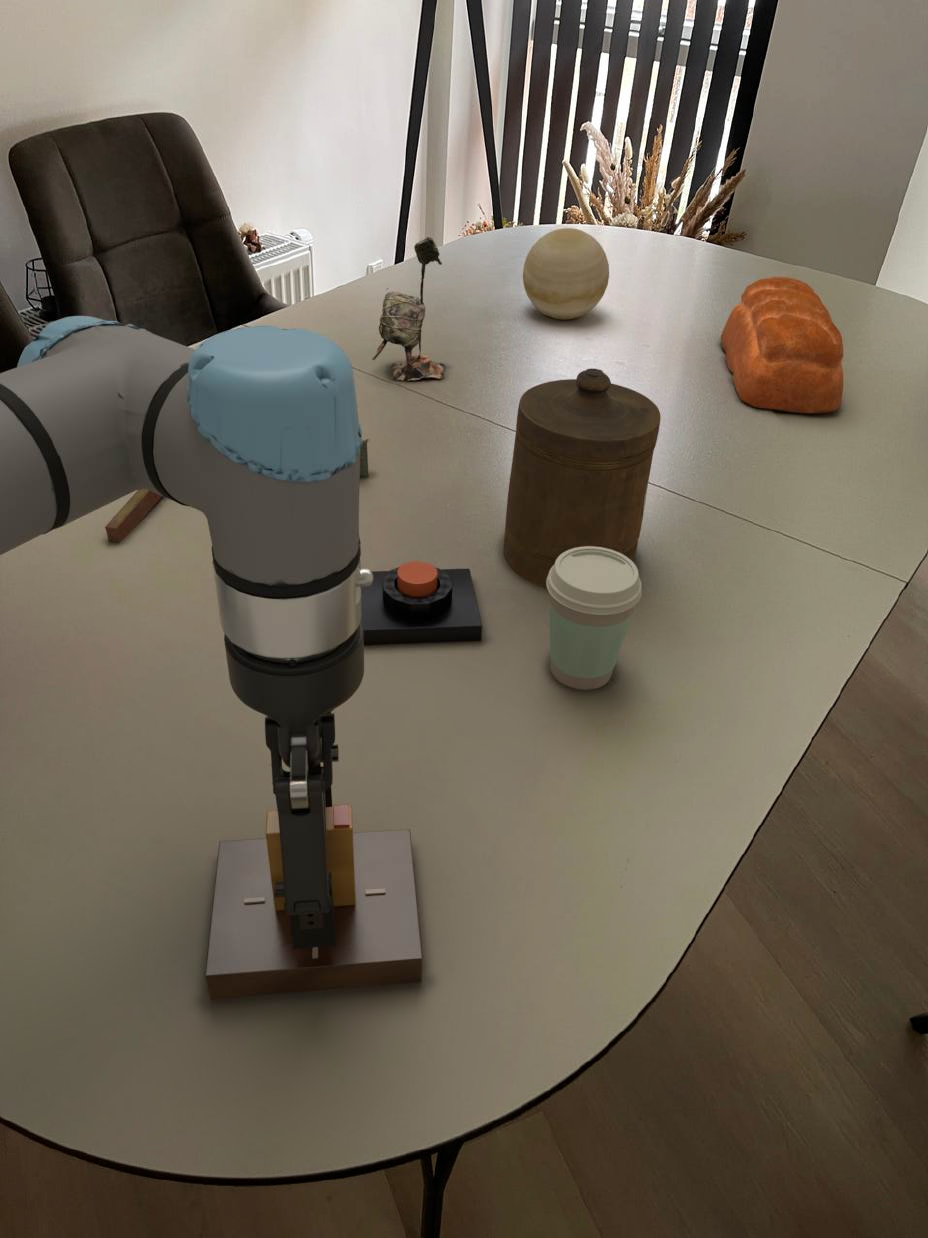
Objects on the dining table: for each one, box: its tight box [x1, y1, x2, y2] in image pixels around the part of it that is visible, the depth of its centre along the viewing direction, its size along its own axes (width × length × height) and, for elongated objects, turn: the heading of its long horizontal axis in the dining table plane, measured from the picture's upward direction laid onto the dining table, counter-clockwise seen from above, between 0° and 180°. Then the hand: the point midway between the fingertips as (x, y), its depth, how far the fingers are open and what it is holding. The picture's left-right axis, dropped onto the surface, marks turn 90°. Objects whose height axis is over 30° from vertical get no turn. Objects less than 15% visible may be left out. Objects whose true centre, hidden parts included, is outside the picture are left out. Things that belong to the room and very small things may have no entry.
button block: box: [361, 566, 483, 646], centre depth 96 cm, size 12×10×4 cm
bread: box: [720, 276, 844, 414], centre depth 149 cm, size 16×31×13 cm, turn 174°
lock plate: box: [204, 828, 424, 1000], centre depth 67 cm, size 14×11×3 cm
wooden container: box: [502, 368, 661, 589], centre depth 101 cm, size 15×15×22 cm
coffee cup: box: [546, 546, 643, 691], centre depth 88 cm, size 8×8×12 cm
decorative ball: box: [522, 227, 610, 321], centre depth 165 cm, size 15×15×15 cm
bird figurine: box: [371, 236, 447, 381], centre depth 141 cm, size 8×11×20 cm
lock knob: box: [265, 804, 356, 911], centre depth 63 cm, size 6×2×8 cm, turn 97°
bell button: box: [397, 560, 438, 597], centre depth 95 cm, size 4×4×2 cm
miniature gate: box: [104, 438, 370, 544], centre depth 114 cm, size 27×6×30 cm
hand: (314, 884), depth 65 cm, fingers open, 8 cm apart
